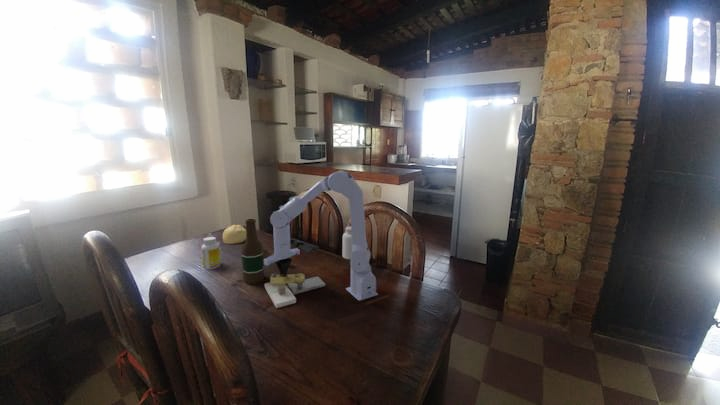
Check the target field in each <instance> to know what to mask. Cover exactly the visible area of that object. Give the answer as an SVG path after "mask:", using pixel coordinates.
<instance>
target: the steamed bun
mask: <svg viewBox="0 0 720 405" xmlns="http://www.w3.org/2000/svg"><path fill="white" fill-rule="evenodd" d="M222 241H223V243H224V244H225V245H226V244H227V245H228V244H229V245H236V244H240V243H243V242H246V228H245V227H244V226H243V225H241V224H232V225H231V226H227V228H225V229H224V231H223V232H222ZM235 243H236V244H235Z"/></svg>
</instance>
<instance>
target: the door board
mask: <svg viewBox="0 0 720 405" xmlns="http://www.w3.org/2000/svg"><path fill="white" fill-rule="evenodd" d="M264 288H265V290H266V292H267V294H268V296H269V297H270V299H271V301H272V303H273V305H274V307H275V308H276V309H278V308H282V307H286V306H289V305H292V304H296V303H297V298H296V296H295V294H293V293H292V291H291V290H290V289H289V287H288V285H287V283H280V284H271V283H270V281H269V282H266V283H264Z"/></svg>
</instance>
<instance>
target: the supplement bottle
mask: <svg viewBox="0 0 720 405" xmlns="http://www.w3.org/2000/svg"><path fill="white" fill-rule="evenodd" d="M206 237H207V236H206ZM206 237H205V238H204V237H203V238H204V239H203V242H204V245H202V247H201V257H202V258H201V259H202V266H203V269H204V270H214V269H216V268H219V267H220V266H221V264H222V262H221V253H220V252H221V251H220V250H219V247H220V244H218V243H216V241H217V238H216V237H215V236H213V237H207V238H206Z"/></svg>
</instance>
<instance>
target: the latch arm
mask: <svg viewBox="0 0 720 405" xmlns="http://www.w3.org/2000/svg"><path fill="white" fill-rule="evenodd" d="M269 279H270V281H269V282H270V283H271V284H280V283H285V284H288V283H296V284H302V283H304V282H305V279H306V276H305V274H304V273H301V272H299V273H296V274H294V273H292V274H288V273H287V274H284V275H280V274H277V273H276V272H272V273H271V275H270V277H269Z"/></svg>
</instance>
